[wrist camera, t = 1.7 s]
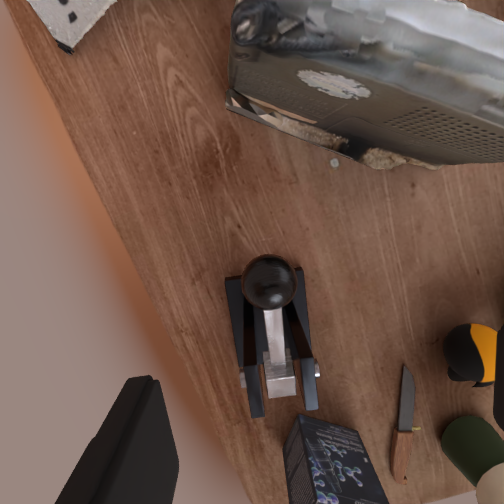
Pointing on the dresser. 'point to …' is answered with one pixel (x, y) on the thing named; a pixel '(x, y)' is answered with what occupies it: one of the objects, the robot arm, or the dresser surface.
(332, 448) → the box
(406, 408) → the knife
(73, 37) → the card
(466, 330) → the character figurine
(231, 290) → the black lever stand
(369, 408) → the dresser surface
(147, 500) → the robot arm
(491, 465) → the character mug
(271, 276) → the tap lever
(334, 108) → the radio
